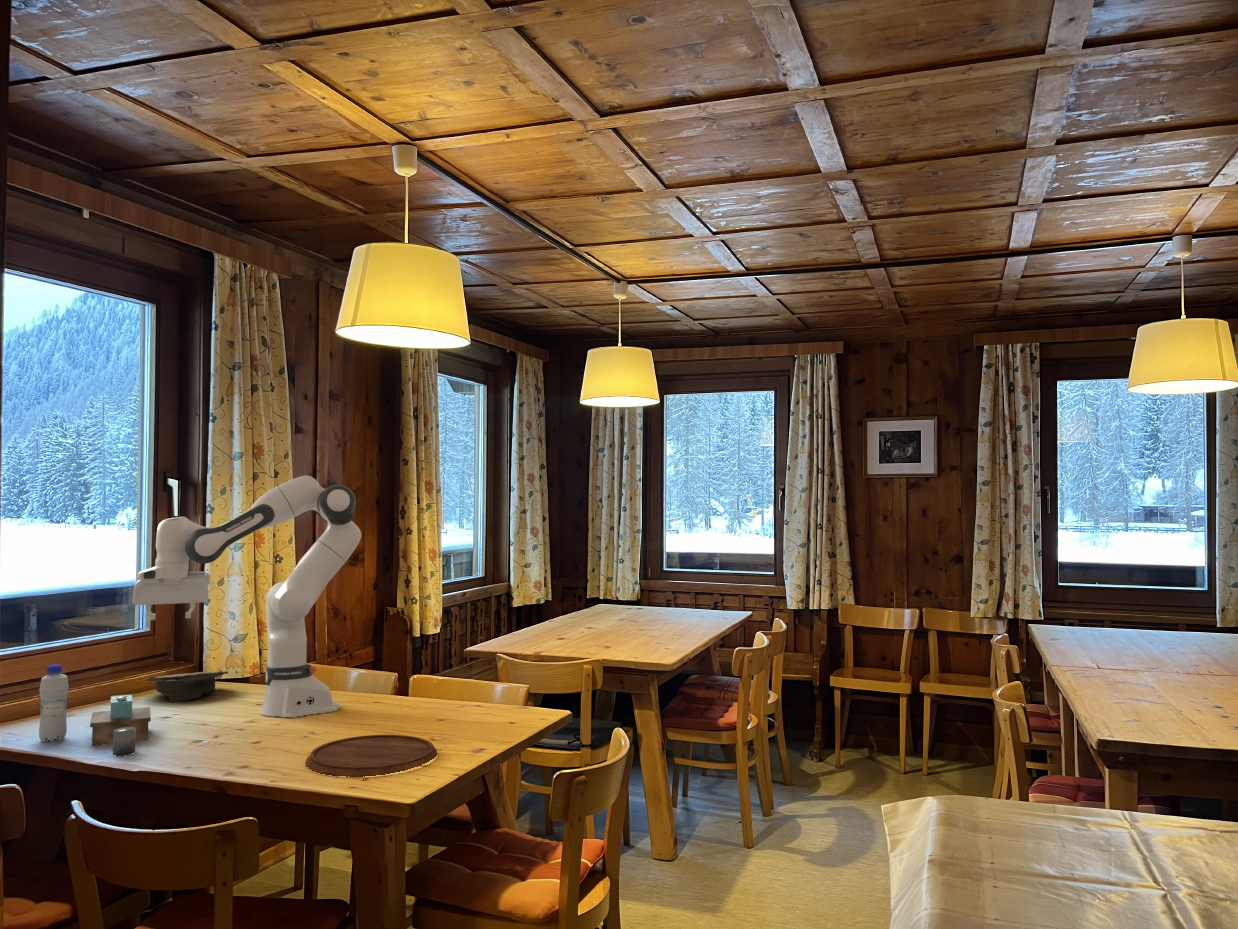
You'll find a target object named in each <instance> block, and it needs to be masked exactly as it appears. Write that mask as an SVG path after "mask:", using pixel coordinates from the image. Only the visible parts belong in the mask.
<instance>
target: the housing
mask: <svg viewBox="0 0 1238 929" xmlns="http://www.w3.org/2000/svg"><path fill="white" fill-rule="evenodd" d="M132 709H133V694H131V693H130V694H120V695H111V696H110V711H111V718H110V720H115V719H125V718H132Z"/></svg>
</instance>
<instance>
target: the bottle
mask: <svg viewBox="0 0 1238 929" xmlns="http://www.w3.org/2000/svg"><path fill="white" fill-rule="evenodd" d="M62 669H63V667H62V665H61V664H51V665H48V666H47V668H46V675H45V676H43V677H41V680H40V685H39V696H40V718H39V728H38V737H39V739H40V741H42V742H43V743H47V742H48V740H49V741H50V743H53V742H54V741H55V738H56V741H57V740H59V741H61V740H64V739H65V738H66V736H67V729H68V727H67V725H68V724H67V701H68V700H67V699H68V694H69V688H70V687H69V680H68V675H66V674H63V673H62V671H63V670H62ZM46 741H47V742H46Z"/></svg>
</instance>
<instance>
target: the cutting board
mask: <svg viewBox="0 0 1238 929" xmlns="http://www.w3.org/2000/svg"><path fill="white" fill-rule="evenodd" d="M437 751H438V749H436V747H435V746H434V744H433V742H431V741H430V740H427V739H425V738H421V737H417V736H412V735H403V734H369V735H368V734H367V735H360V736H352V737H346V738H342V739H337V740H333V741H329V742H327V743H324V744H321V745H319V746H317V747H316V748H315V747H314V749H313V750H312V751H311V752H310V754H309V755H308V756H307V758H306V760H305V762H304V763H305V764H306V765H305V764H304V765H305V767H306V768H307V767H308V769H310V770H312V771H315V772H317V773H320V774H325V775H332V776H346V777H348V776H349V777H363V776H364V777H365V776H376V775H385V774H390V773H395V772H400V771H405V770H408V769H411V768H414V767H418V766H421V765H422V764H425V763H427V762H429V761H430V760H432V759H434V758H435V757H436V756H437V754H438V755H439V752H438V753H437ZM308 769H307V770H308ZM310 770H309V771H310ZM312 771H311V772H312ZM317 773H316V774H317ZM320 774H319V775H320Z"/></svg>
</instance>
